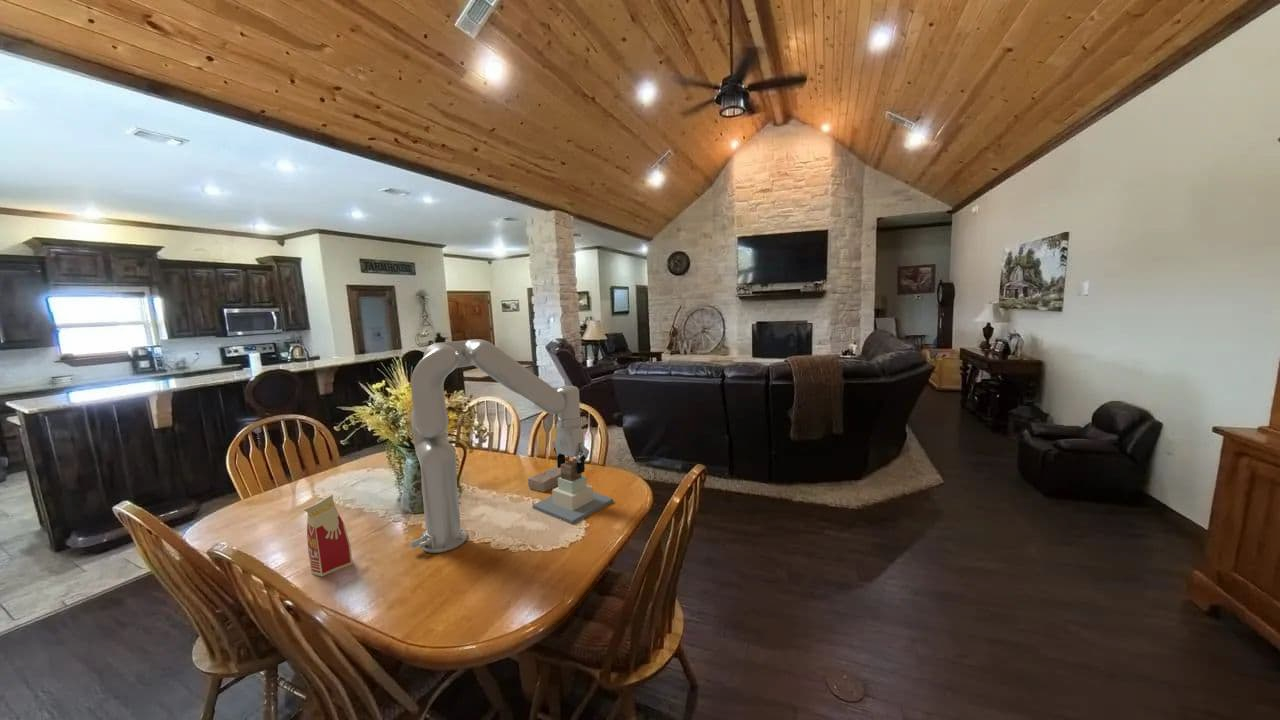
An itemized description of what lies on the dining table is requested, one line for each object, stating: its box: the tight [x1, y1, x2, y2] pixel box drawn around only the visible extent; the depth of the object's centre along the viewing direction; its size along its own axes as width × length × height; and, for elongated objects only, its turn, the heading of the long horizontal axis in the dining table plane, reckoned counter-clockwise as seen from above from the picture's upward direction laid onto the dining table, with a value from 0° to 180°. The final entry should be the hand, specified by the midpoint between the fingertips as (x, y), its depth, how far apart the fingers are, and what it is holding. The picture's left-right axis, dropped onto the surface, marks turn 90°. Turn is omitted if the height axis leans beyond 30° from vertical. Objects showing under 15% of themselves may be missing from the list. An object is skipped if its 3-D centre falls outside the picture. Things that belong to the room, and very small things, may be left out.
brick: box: [527, 465, 561, 493], centre depth 178 cm, size 16×8×5 cm, turn 150°
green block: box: [557, 474, 588, 494], centre depth 157 cm, size 7×7×4 cm
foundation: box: [531, 484, 614, 525], centre depth 158 cm, size 20×20×6 cm
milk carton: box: [302, 493, 353, 577], centre depth 124 cm, size 9×9×20 cm
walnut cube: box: [561, 460, 583, 481], centre depth 156 cm, size 5×5×5 cm
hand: (570, 469), depth 156 cm, fingers open, 9 cm apart
